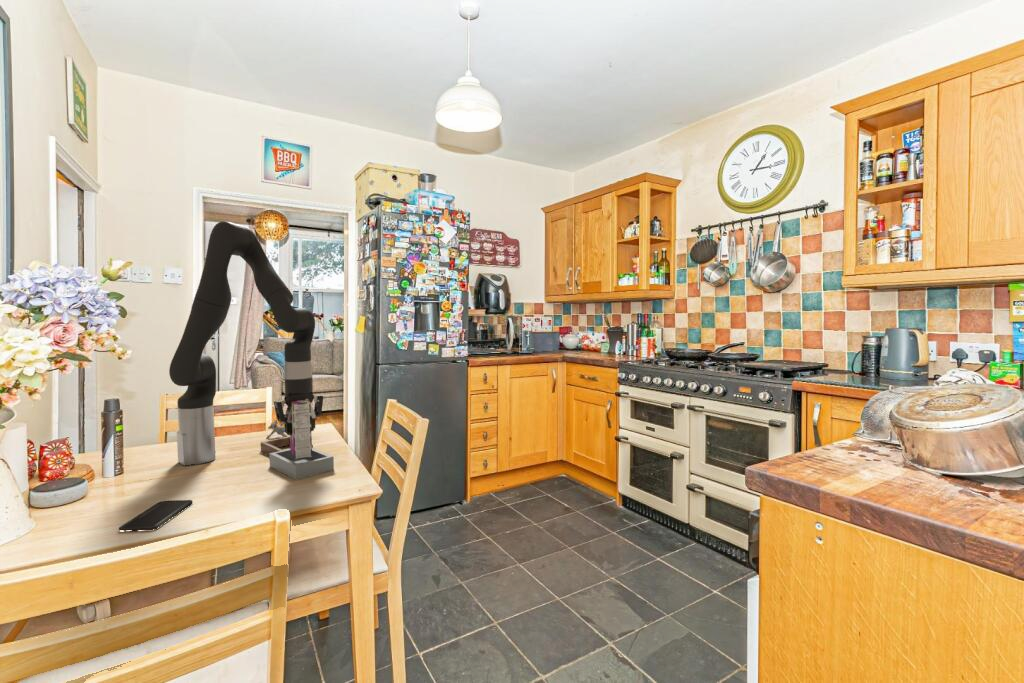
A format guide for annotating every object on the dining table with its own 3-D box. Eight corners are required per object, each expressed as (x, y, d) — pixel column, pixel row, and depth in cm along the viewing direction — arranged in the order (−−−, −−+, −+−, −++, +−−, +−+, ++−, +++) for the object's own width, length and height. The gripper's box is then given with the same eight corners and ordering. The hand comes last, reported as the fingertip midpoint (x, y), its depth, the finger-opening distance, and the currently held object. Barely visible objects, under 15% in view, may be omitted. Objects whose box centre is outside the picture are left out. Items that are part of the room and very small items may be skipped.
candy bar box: (289, 450, 146) (288, 396, 145) (306, 447, 149) (305, 395, 148) (293, 460, 137) (292, 403, 136) (312, 457, 139) (311, 401, 138)
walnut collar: (281, 461, 149) (281, 451, 149) (260, 451, 160) (260, 442, 160) (313, 453, 157) (312, 444, 157) (291, 444, 167) (290, 436, 167)
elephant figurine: (275, 443, 170) (258, 431, 173) (282, 451, 174) (265, 439, 178) (296, 421, 175) (280, 411, 179) (302, 430, 180) (286, 419, 183)
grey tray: (295, 480, 133) (295, 465, 133) (269, 466, 144) (269, 453, 144) (333, 469, 141) (333, 456, 141) (306, 457, 153) (305, 445, 152)
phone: (194, 499, 118) (155, 527, 103) (194, 504, 118) (155, 532, 103) (160, 501, 117) (115, 528, 102) (160, 505, 117) (115, 534, 102)
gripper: (316, 372, 149) (317, 426, 150) (267, 377, 138) (269, 435, 139) (328, 374, 144) (329, 430, 145) (279, 380, 133) (281, 440, 134)
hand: (300, 432), depth 142 cm, fingers closed on candy bar box, 6 cm apart
